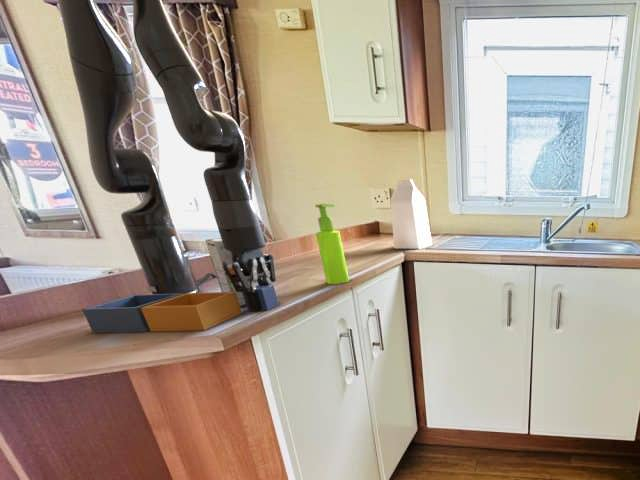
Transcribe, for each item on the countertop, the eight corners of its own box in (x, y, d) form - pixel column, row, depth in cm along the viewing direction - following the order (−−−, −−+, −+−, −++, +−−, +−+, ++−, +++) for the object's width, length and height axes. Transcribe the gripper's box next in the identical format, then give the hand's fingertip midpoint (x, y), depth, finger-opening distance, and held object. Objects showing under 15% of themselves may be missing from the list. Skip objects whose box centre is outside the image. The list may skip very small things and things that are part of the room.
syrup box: (251, 299, 101) (232, 236, 95) (262, 302, 97) (242, 237, 91) (225, 304, 97) (203, 238, 91) (235, 308, 94) (213, 240, 87)
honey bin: (194, 314, 90) (186, 293, 88) (242, 313, 90) (235, 291, 88) (150, 331, 80) (140, 307, 78) (204, 330, 79) (195, 306, 77)
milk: (394, 248, 179) (384, 180, 168) (408, 244, 189) (399, 180, 178) (419, 248, 175) (410, 179, 164) (432, 244, 185) (424, 179, 174)
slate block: (259, 305, 95) (253, 285, 94) (278, 304, 95) (273, 284, 93) (247, 310, 91) (241, 290, 89) (267, 310, 91) (261, 289, 89)
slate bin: (143, 315, 91) (134, 294, 89) (190, 314, 90) (182, 293, 88) (93, 333, 80) (81, 309, 78) (146, 331, 80) (136, 307, 78)
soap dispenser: (355, 279, 120) (341, 202, 111) (340, 284, 114) (323, 204, 105) (338, 278, 121) (322, 203, 113) (322, 283, 115) (304, 204, 107)
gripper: (242, 222, 92) (265, 299, 100) (196, 228, 80) (225, 316, 87) (275, 221, 92) (295, 298, 99) (234, 227, 79) (261, 315, 87)
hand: (263, 306), depth 93 cm, fingers closed on slate block, 4 cm apart
